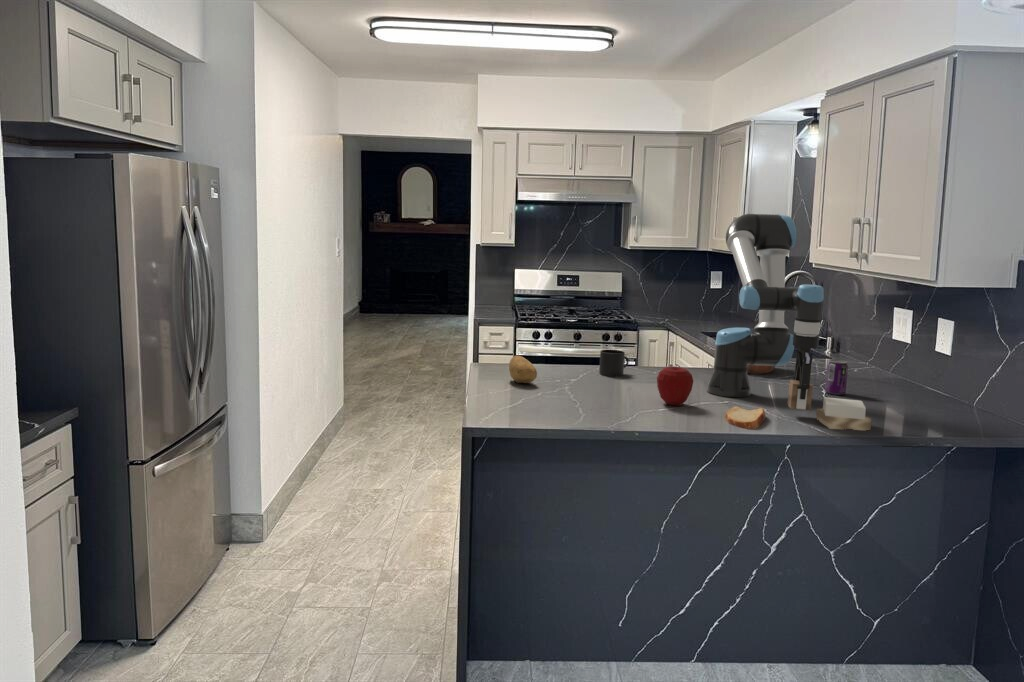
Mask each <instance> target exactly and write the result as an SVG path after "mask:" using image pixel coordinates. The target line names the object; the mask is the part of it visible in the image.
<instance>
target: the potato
mask: <svg viewBox="0 0 1024 682" xmlns="http://www.w3.org/2000/svg"><path fill="white" fill-rule="evenodd" d="M508 368H509V369H508V371H509V374H510V375H509V376H510V377H511V378H512V379H513V380H514V382H516V383H517V384H529V383H532V382H534V381H535V380H536V378H538V377H537V374H538V372H537V368H536V367H535V366H534V365H533V363H532V362H531V361H529V359H526V358H525V357H523V356H521V355H513V356H512V358H511V359H510V361H509V364H508Z"/></svg>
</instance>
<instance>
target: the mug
mask: <svg viewBox="0 0 1024 682" xmlns="http://www.w3.org/2000/svg"><path fill="white" fill-rule="evenodd" d="M599 352H600V354H599V370H598V373H599V374H600V375H601V376H606V377H621V376H624V372H625V371H624V369H625V368H627V367H628V365H629V358H628V357H626V356H625V351H623V350H618V349H601V350H600V351H599ZM625 361H626V362H625Z"/></svg>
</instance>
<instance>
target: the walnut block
mask: <svg viewBox="0 0 1024 682" xmlns="http://www.w3.org/2000/svg"><path fill="white" fill-rule="evenodd" d="M799 382H800V381H798V380H793V379H790V380H789V387H788V397H787V405H788V408H789V409H792V410H797V409H796V405H797V395H798V389H797V387H799ZM805 385H806V384H805ZM813 388H814V385H813V383H811V381H810V388H809V389H808V391H807V400H806V409H799V410H802V411H811V409H812V408H811V407H812V398H813V390H814V389H813Z"/></svg>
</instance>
